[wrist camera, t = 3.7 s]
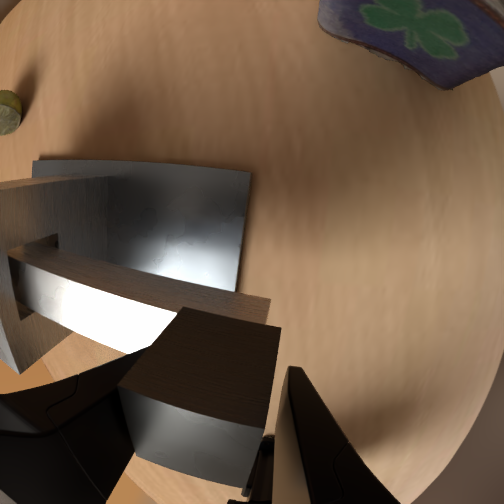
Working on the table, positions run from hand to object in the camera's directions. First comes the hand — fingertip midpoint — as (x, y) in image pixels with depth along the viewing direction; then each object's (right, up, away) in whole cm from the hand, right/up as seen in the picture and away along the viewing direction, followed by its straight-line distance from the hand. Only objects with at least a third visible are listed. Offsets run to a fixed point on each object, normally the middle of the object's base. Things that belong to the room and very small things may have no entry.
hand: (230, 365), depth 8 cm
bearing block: (-9, +4, +9) cm, 14 cm away
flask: (+9, +16, +3) cm, 18 cm away
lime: (-21, +16, +8) cm, 28 cm away
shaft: (-7, +2, +4) cm, 8 cm away
